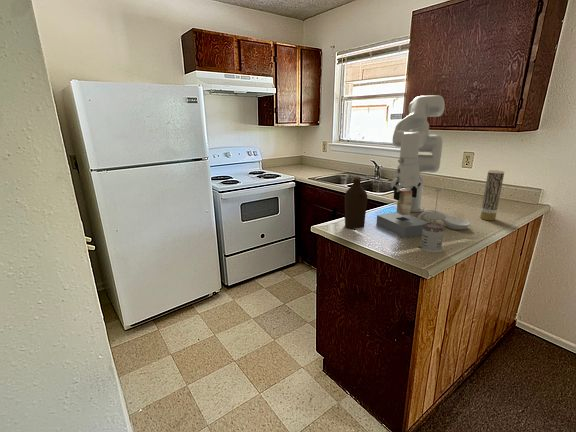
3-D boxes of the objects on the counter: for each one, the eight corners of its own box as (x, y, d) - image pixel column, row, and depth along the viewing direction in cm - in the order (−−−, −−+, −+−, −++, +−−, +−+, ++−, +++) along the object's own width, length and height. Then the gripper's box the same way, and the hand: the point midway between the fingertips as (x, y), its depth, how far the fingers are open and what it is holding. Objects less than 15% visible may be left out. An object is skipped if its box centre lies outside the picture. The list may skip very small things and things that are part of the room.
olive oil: (369, 226, 154) (373, 176, 146) (357, 232, 147) (360, 179, 139) (351, 222, 161) (354, 174, 154) (339, 226, 154) (341, 177, 147)
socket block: (376, 226, 154) (377, 215, 152) (399, 222, 158) (400, 211, 157) (404, 240, 136) (405, 227, 134) (429, 235, 140) (430, 223, 139)
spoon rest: (470, 226, 152) (472, 212, 150) (468, 234, 143) (470, 219, 140) (419, 219, 164) (420, 206, 162) (414, 225, 155) (415, 211, 153)
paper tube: (482, 216, 167) (490, 169, 159) (496, 218, 162) (505, 171, 155) (478, 219, 162) (486, 171, 155) (493, 221, 158) (502, 172, 150)
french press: (418, 250, 125) (425, 190, 118) (417, 240, 135) (424, 184, 128) (445, 253, 122) (454, 191, 114) (442, 243, 132) (450, 185, 125)
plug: (396, 212, 146) (398, 190, 142) (403, 211, 147) (405, 189, 144) (402, 215, 142) (404, 191, 139) (410, 214, 143) (412, 191, 140)
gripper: (398, 164, 131) (394, 202, 137) (430, 160, 137) (425, 197, 143) (386, 161, 138) (384, 198, 143) (417, 158, 144) (414, 194, 149)
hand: (404, 198), depth 143 cm, fingers open, 9 cm apart
